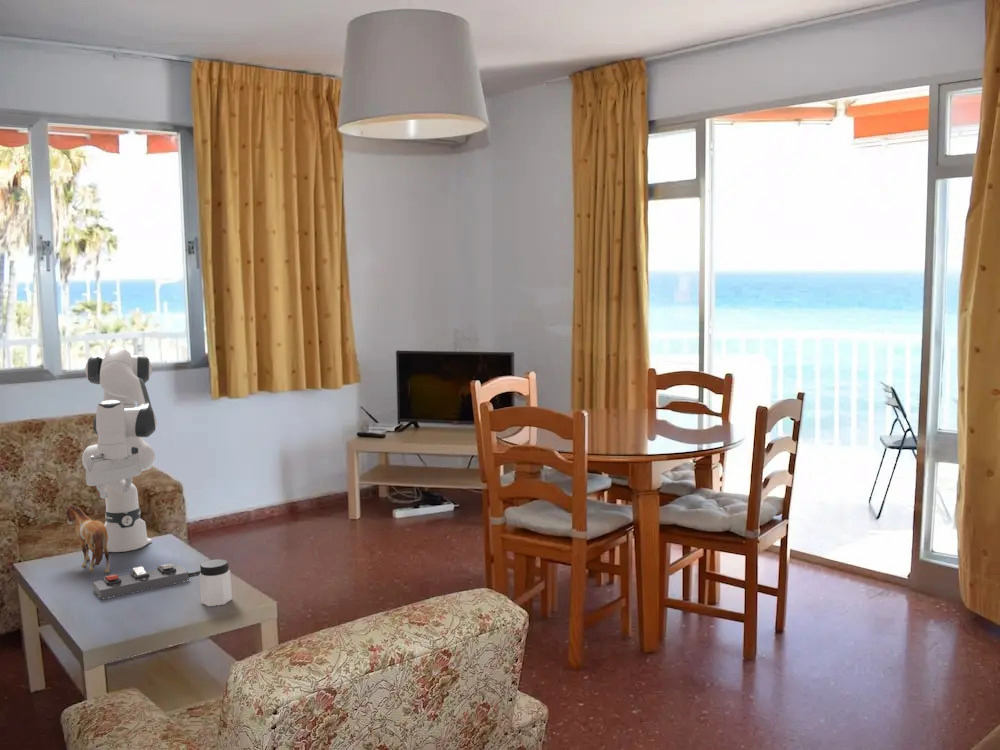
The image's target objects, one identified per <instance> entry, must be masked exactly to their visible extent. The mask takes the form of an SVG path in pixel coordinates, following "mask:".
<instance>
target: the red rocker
mask: <svg viewBox="0 0 1000 750" xmlns="http://www.w3.org/2000/svg"><path fill="white" fill-rule="evenodd" d="M104 577H106V580H108V581H113V580H116V579H118V577H119V575H118V574H111V575H105V576H104Z"/></svg>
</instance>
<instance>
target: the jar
mask: <svg viewBox="0 0 1000 750" xmlns="http://www.w3.org/2000/svg"><path fill="white" fill-rule="evenodd" d="M199 566H200V567H199V568H200V570H199V571H201V573H200V574H198V577H199V588H200V590H199V592H200V602H201V604H202V605H204V604H205V606H207V607H209V606H210V607H215V606H216V605H217V606H222V605H223V606H225V605H226V604H227V603H229V602H230V601H231V600H233V596H232V578H231V569H229V568H230V567H229V561H228V560H226V559H221V558H220V559H218V558H217V559H211V560H210V559H209V560H205V561H203V562H202V563H200V565H199Z"/></svg>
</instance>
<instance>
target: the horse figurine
mask: <svg viewBox="0 0 1000 750" xmlns="http://www.w3.org/2000/svg"><path fill="white" fill-rule="evenodd" d="M63 506H64V508H65V510H66V511H65V515H66V516H67V521H66V523H67V524H68V525H70V526H71V525H73V524H74V521H76V525H75V531H74V532H75V535H76V537H77V538H78V541H79V543H80V544H81V551H82V553H83V562H82V564H81V567H83V566H84V567H87V561H90V563H89V572H90V573H93V572H94V571H95V569H94V568H95V566H99V565H100V564H101V562H102V560H103V557H104V558H105V561H106V562H105V563H106V564H105V567H106V568H105V570H104V573H105V574H107V573H110V572H111V571H110V563H109V559H110V553H109V552H108V551H107V542H108V534H107V529H106V527H105V523H104V522H102V521H100V520H92V518H90V517H89V516H87V515H86V513H84V511H83V510H82V509H81V508H80V507H79V506H78V505H77V506H76V505H74V504H68V506H67V505H63ZM103 549H104V552H103ZM90 552H91V553H92V555H91V558H90V555H89V553H90ZM90 559H91V560H90Z"/></svg>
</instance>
